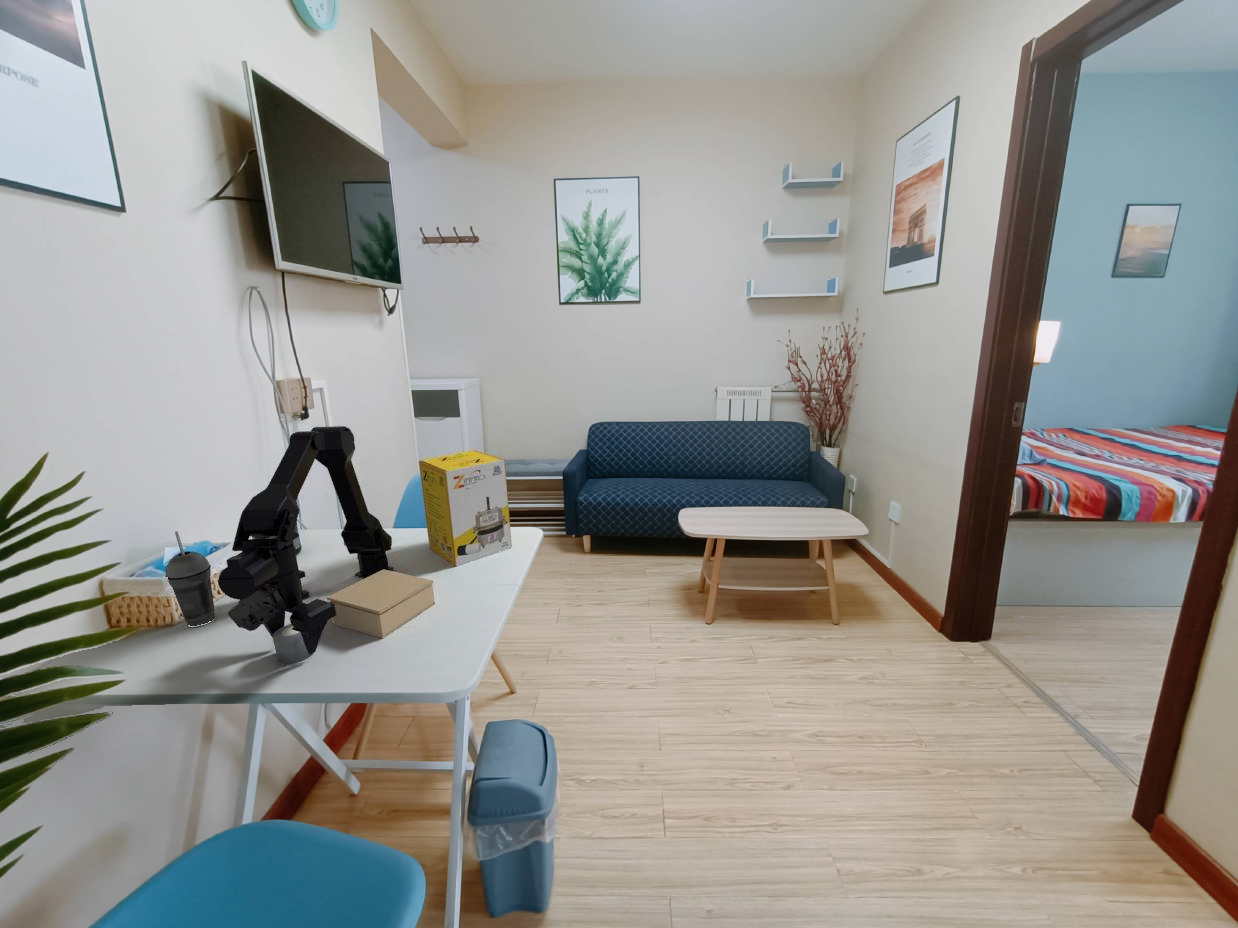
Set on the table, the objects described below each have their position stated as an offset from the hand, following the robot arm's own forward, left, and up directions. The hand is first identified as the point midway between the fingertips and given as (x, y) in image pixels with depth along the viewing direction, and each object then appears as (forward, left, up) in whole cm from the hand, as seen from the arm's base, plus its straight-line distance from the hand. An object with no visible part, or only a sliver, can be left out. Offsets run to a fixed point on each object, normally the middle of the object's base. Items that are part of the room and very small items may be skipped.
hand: (295, 647), depth 96 cm
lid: (+4, +17, +4) cm, 18 cm away
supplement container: (-47, +28, -2) cm, 55 cm away
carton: (+4, +17, -1) cm, 18 cm away
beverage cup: (-30, 0, -2) cm, 30 cm away
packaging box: (-2, +51, -2) cm, 51 cm away
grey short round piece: (0, 0, -2) cm, 2 cm away
